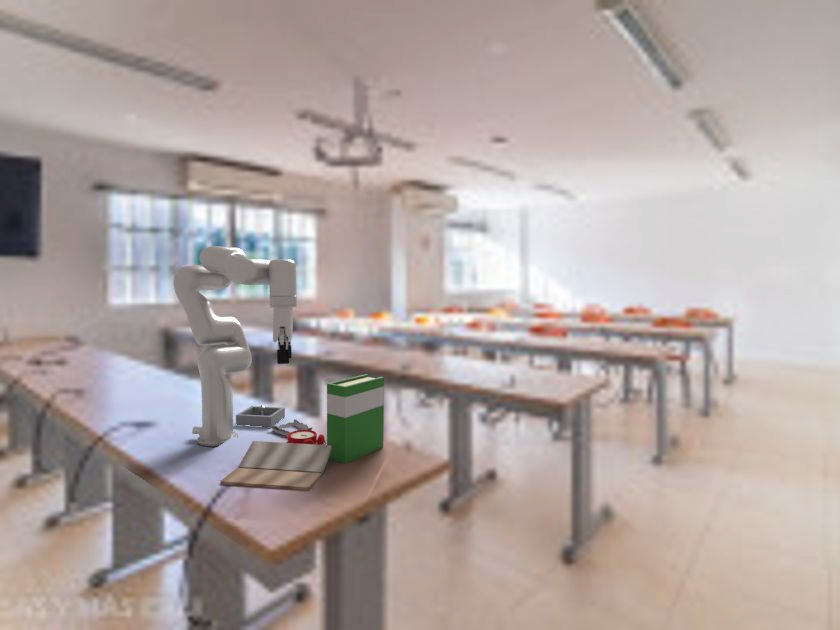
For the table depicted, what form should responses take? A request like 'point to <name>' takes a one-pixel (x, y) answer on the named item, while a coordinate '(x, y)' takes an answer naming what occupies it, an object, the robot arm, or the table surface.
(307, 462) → the grey oak plank
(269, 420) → the grey tray
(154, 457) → the table surface
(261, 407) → the bacteriophage
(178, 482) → the table surface
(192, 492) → the table surface
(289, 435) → the alarm clock
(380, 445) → the hardback book
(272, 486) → the walnut plank
